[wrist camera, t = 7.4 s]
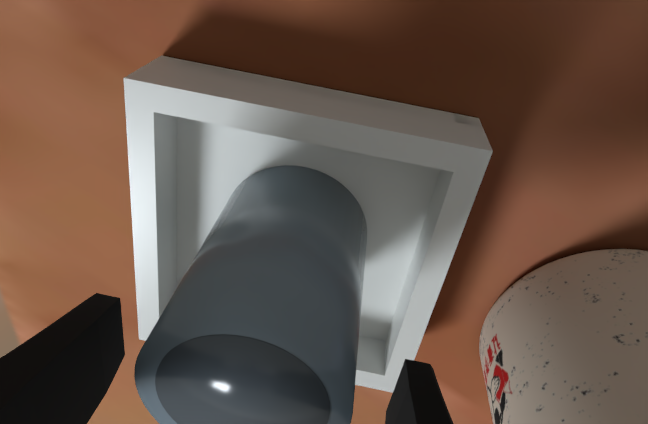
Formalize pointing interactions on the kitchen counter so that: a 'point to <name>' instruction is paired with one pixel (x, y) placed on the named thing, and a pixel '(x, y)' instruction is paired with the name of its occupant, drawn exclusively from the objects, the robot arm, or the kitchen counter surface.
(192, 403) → the tumbler
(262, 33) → the kitchen counter surface
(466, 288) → the kitchen counter surface
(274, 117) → the tray
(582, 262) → the teacup with lid
